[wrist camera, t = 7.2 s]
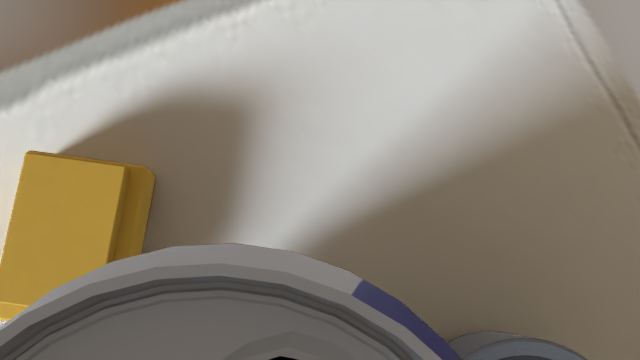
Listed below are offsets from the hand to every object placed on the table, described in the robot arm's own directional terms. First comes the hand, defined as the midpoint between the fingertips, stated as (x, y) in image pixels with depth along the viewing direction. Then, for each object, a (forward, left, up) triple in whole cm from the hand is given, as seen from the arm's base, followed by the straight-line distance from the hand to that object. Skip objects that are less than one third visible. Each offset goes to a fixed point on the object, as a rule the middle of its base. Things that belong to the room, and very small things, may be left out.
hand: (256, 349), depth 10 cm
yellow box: (+2, +5, -7) cm, 9 cm away
